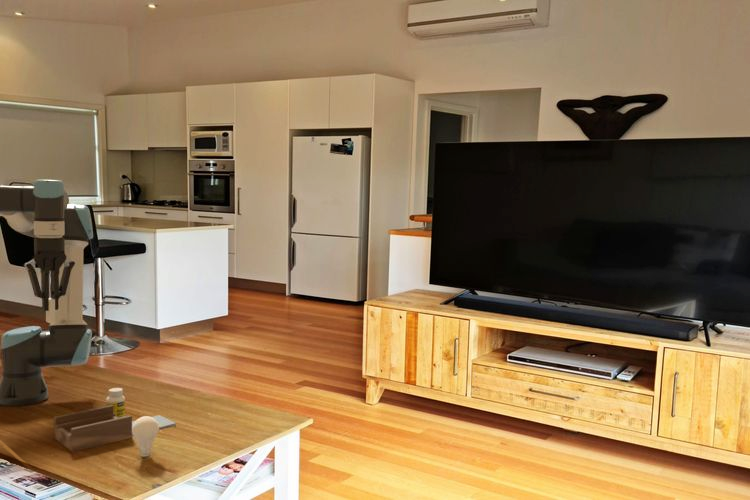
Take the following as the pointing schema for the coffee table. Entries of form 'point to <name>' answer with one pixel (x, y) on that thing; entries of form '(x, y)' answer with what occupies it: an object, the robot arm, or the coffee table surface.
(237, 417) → the coffee table surface
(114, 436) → the walnut box
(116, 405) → the supplement bottle
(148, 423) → the light bulb
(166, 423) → the cover plate
